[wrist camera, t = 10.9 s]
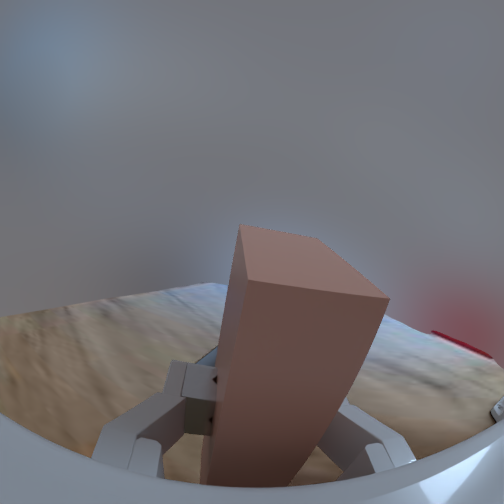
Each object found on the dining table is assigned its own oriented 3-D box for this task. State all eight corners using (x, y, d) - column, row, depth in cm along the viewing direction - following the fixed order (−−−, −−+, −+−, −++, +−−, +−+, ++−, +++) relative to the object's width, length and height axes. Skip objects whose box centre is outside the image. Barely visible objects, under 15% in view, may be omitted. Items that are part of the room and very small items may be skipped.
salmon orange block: (254, 523, 7) (389, 298, 4) (198, 521, 7) (247, 279, 4) (248, 455, 12) (317, 238, 9) (201, 451, 11) (239, 224, 8)
